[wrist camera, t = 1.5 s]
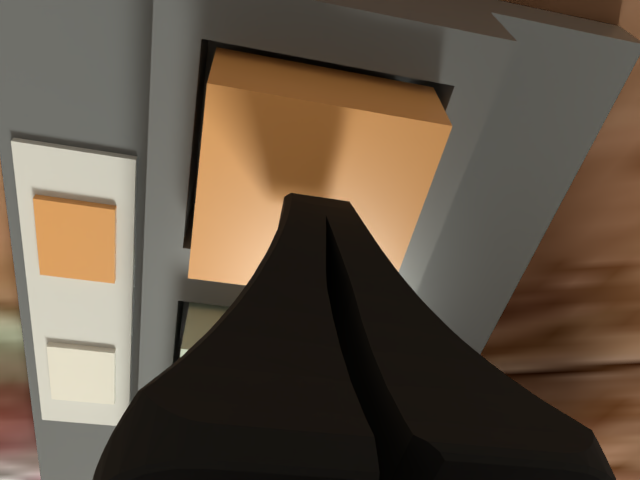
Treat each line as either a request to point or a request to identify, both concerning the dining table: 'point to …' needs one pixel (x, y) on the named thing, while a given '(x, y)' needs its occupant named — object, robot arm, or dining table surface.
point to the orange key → (307, 156)
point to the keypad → (184, 153)
